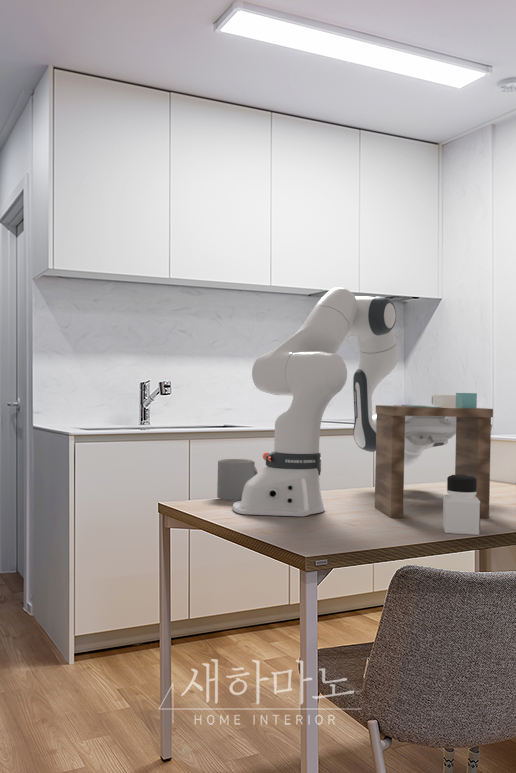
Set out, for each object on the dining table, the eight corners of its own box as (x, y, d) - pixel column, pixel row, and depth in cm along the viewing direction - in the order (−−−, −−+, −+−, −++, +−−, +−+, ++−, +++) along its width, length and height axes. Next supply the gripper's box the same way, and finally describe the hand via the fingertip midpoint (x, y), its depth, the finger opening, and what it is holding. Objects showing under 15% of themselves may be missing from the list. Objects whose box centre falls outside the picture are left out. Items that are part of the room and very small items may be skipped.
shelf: (391, 518, 162) (394, 406, 162) (373, 506, 178) (375, 404, 178) (490, 518, 164) (493, 407, 164) (464, 507, 180) (466, 406, 180)
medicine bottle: (480, 535, 145) (481, 478, 145) (444, 533, 146) (445, 476, 146) (476, 528, 152) (477, 474, 152) (442, 527, 153) (443, 472, 153)
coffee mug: (231, 501, 181) (232, 463, 181) (209, 496, 189) (210, 459, 189) (271, 497, 190) (271, 460, 190) (248, 492, 198) (249, 457, 198)
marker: (476, 408, 166) (476, 393, 166) (462, 408, 166) (462, 392, 166) (441, 405, 189) (441, 392, 189) (428, 405, 189) (429, 392, 189)
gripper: (380, 424, 203) (393, 401, 191) (448, 425, 205) (465, 403, 194) (383, 443, 200) (396, 421, 188) (451, 445, 202) (469, 423, 190)
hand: (431, 412), depth 191 cm, fingers open, 8 cm apart
